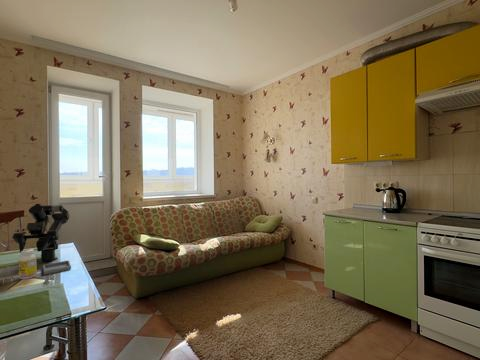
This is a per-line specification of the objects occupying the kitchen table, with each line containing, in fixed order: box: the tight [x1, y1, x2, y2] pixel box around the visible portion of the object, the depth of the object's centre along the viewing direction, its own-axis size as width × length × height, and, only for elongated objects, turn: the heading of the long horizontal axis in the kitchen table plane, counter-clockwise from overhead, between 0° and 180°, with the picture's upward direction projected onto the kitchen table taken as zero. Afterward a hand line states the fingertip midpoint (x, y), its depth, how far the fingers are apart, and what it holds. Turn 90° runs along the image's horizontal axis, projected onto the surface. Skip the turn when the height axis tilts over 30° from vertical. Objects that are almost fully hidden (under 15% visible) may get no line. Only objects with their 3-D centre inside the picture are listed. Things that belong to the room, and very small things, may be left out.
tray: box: [43, 259, 72, 276], centre depth 137 cm, size 11×11×2 cm
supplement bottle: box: [18, 248, 38, 280], centre depth 127 cm, size 7×7×13 cm
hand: (31, 251), depth 131 cm, fingers open, 9 cm apart
